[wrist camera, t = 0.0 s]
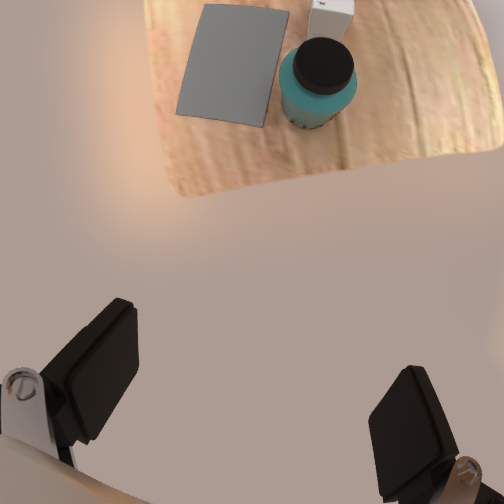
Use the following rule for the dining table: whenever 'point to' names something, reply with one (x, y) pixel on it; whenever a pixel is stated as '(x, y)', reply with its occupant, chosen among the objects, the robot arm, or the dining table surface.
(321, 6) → the skincare box
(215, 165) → the dining table surface
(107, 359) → the robot arm
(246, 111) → the slate mat
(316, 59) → the beverage bottle
